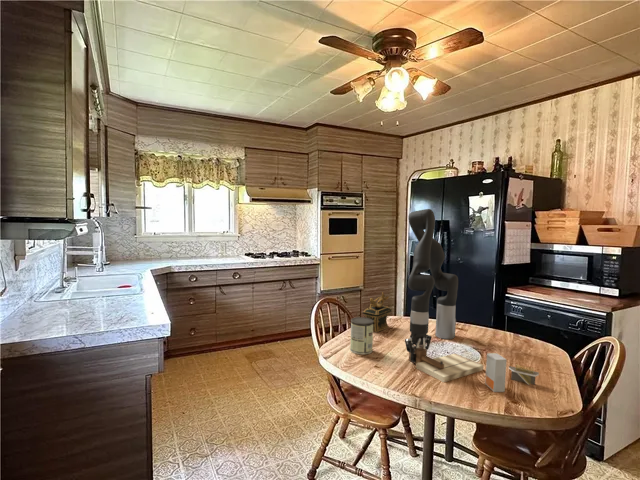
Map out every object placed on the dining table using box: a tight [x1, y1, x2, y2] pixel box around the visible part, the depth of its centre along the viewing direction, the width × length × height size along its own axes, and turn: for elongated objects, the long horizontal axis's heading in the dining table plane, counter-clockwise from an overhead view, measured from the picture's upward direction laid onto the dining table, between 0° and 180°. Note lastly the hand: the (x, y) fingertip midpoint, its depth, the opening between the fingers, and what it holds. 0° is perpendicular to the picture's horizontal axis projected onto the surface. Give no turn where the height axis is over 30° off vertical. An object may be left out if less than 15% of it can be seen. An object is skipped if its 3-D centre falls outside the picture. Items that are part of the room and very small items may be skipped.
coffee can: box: [349, 316, 374, 355], centre depth 162 cm, size 10×10×14 cm
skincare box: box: [484, 352, 507, 393], centre depth 129 cm, size 6×4×12 cm
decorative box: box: [362, 291, 393, 333], centre depth 197 cm, size 20×10×20 cm, turn 141°
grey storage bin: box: [508, 364, 540, 386], centre depth 134 cm, size 12×18×7 cm, turn 58°
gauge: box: [408, 345, 444, 369], centre depth 147 cm, size 4×17×6 cm, turn 31°
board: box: [415, 353, 485, 383], centre depth 145 cm, size 24×14×2 cm, turn 121°
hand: (417, 360), depth 151 cm, fingers open, 4 cm apart
